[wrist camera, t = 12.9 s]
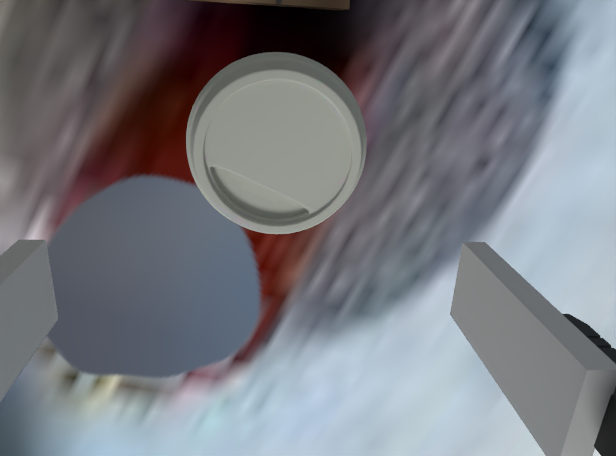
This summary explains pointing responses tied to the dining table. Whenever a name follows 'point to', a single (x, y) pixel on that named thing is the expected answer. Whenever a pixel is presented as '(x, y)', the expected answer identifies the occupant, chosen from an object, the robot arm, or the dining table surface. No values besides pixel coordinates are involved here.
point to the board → (294, 3)
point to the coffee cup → (276, 142)
